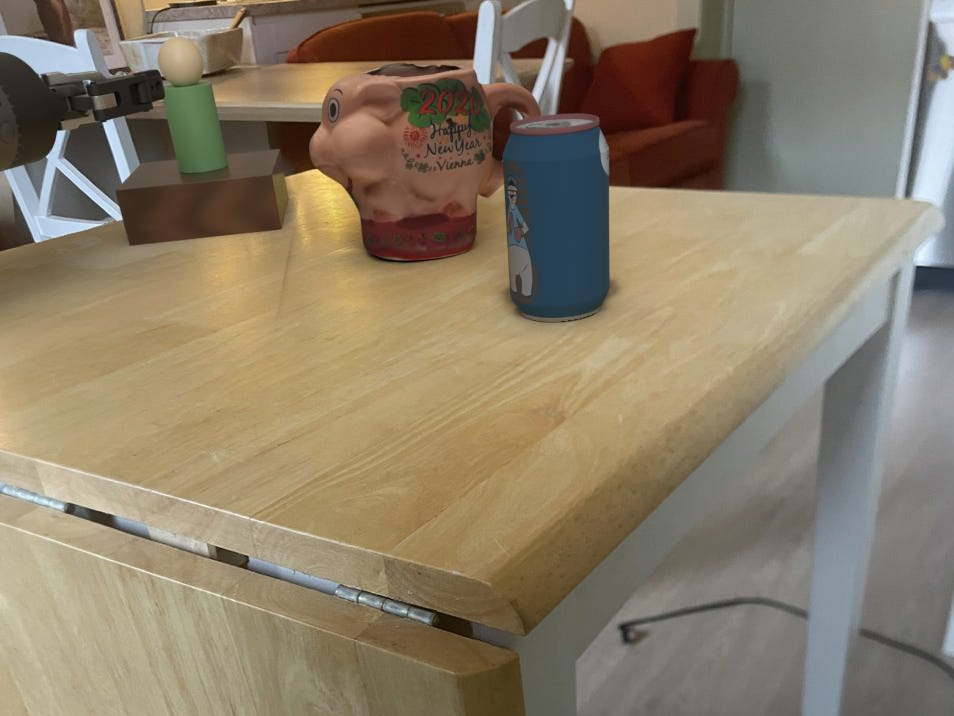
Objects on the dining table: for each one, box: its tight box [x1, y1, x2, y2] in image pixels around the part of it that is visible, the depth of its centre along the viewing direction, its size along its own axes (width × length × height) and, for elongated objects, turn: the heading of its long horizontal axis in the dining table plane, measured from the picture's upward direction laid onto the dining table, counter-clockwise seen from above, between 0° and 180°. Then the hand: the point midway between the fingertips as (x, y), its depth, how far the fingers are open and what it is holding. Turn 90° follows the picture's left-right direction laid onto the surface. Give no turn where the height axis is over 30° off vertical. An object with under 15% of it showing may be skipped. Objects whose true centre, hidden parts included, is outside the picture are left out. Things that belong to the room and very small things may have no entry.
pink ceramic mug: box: [308, 61, 542, 261], centre depth 85 cm, size 20×12×14 cm, turn 113°
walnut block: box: [114, 148, 289, 247], centre depth 98 cm, size 14×14×6 cm
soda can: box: [502, 113, 611, 323], centre depth 68 cm, size 7×7×12 cm
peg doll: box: [157, 36, 228, 173], centre depth 93 cm, size 5×5×11 cm
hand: (119, 85), depth 85 cm, fingers open, 8 cm apart
